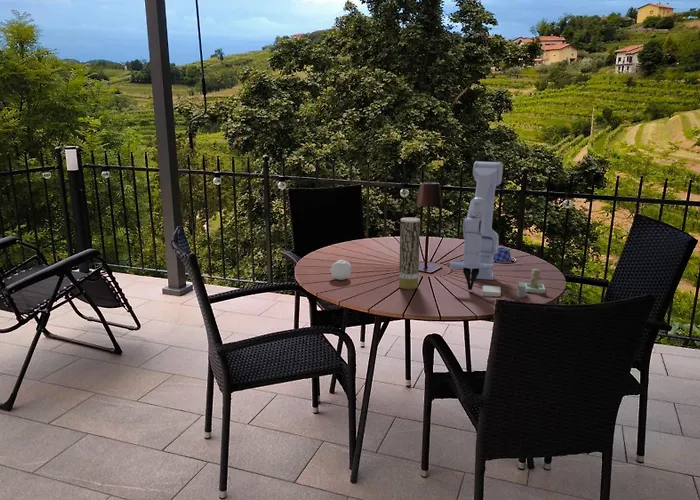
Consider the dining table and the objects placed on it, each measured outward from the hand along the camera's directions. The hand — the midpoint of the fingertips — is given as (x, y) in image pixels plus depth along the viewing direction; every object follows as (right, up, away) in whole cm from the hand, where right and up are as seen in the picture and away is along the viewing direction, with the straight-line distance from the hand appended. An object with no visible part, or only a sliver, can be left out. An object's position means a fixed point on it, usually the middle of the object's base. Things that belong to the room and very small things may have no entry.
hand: (470, 288), depth 194 cm
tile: (+7, -2, -1) cm, 7 cm away
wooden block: (+17, -2, -4) cm, 17 cm away
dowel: (+23, 0, +2) cm, 23 cm away
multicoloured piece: (+23, +9, +43) cm, 50 cm away
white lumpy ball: (-46, +2, +15) cm, 48 cm away
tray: (+23, -1, +2) cm, 23 cm away
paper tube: (-21, 0, +5) cm, 22 cm away
